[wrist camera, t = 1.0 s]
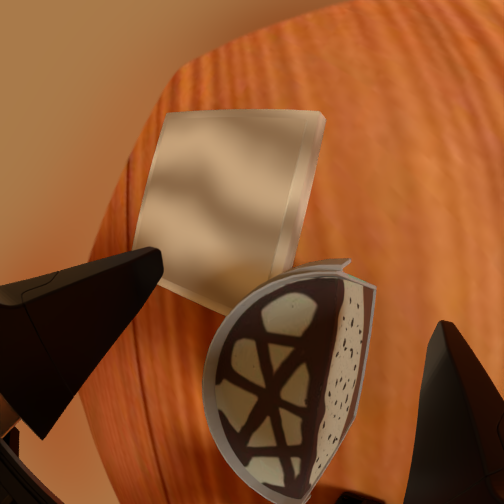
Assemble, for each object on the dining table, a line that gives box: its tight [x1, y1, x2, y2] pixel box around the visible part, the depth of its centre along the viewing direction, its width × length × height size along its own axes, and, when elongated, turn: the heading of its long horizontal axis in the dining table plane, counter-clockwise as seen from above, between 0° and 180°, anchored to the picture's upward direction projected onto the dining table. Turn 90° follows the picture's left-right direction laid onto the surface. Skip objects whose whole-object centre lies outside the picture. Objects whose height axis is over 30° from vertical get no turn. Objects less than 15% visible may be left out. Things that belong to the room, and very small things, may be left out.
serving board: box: [132, 109, 326, 316], centre depth 26 cm, size 16×16×2 cm
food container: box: [202, 258, 377, 504], centre depth 17 cm, size 12×6×10 cm, turn 176°
